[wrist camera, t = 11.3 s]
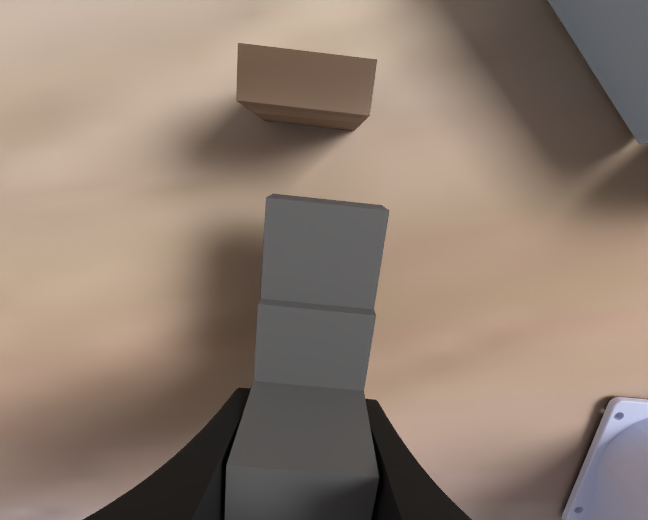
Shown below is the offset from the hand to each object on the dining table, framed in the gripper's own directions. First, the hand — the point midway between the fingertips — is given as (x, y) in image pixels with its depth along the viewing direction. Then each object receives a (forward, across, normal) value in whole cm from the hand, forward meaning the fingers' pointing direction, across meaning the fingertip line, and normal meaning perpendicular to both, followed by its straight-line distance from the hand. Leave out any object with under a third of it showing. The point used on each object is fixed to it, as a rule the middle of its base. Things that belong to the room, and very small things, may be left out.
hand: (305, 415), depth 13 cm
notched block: (+2, 0, -2) cm, 3 cm away
